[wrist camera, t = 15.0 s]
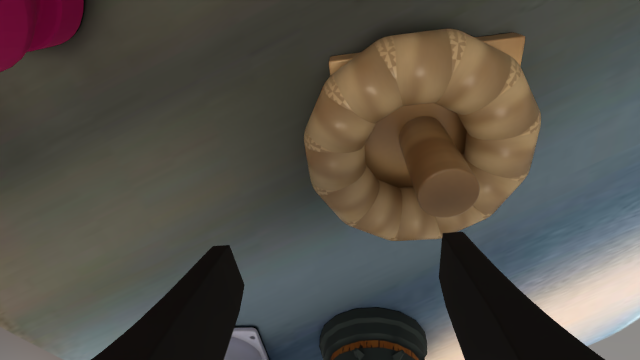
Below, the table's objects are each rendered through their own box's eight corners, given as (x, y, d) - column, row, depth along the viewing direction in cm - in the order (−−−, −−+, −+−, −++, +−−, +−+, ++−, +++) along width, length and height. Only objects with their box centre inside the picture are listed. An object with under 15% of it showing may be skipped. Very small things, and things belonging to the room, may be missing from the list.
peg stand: (489, 187, 20) (545, 268, 15) (346, 197, 21) (346, 277, 16) (515, 31, 16) (611, 63, 10) (329, 56, 17) (321, 97, 11)
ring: (500, 211, 20) (523, 246, 17) (322, 222, 21) (319, 255, 19) (541, 10, 14) (585, 18, 11) (293, 43, 15) (283, 56, 13)
